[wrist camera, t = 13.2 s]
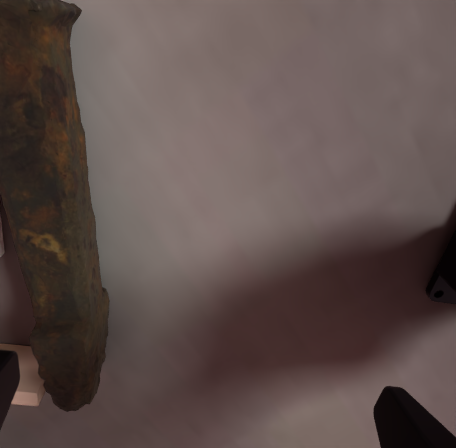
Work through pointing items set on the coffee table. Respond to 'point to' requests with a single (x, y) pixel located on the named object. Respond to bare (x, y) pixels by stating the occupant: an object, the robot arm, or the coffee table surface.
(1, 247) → the tile
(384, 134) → the coffee table surface
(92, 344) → the hand tool
